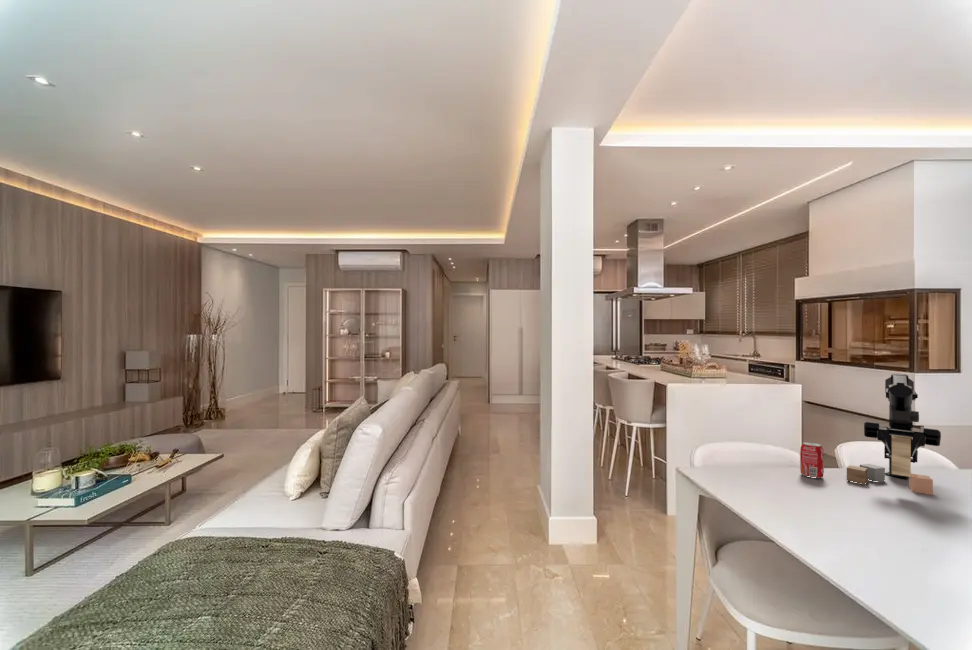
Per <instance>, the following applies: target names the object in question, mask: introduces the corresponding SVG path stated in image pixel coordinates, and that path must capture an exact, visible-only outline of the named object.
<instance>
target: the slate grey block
mask: <svg viewBox="0 0 972 650" xmlns="http://www.w3.org/2000/svg"><path fill="white" fill-rule="evenodd" d="M859 467H863V468H868V479H869V480H872V481H884V480H885V481H886V479H885V478H886V474H885V473H886V468H885V467H883V466H880V465H876V464H872V463H863V464H861V463H860V464H859Z"/></svg>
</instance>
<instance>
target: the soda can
mask: <svg viewBox="0 0 972 650" xmlns="http://www.w3.org/2000/svg"><path fill="white" fill-rule="evenodd" d="M824 451H825V450H824V448H823V445H822V444H821V443H818V442H812V441H811V442H810V441H803V442H802V445H800V451H799V452H800V453H799V456H800V457H799V459H800V460H799V463H800V464H799V469H800V470H799V471H800V474H801V475H802V476H804V475H805V476H810V477H816V478H819V479H821V478H823V477H824V473H825V472H824V471H825V452H824ZM805 476H804V477H805Z"/></svg>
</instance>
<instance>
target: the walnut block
mask: <svg viewBox="0 0 972 650" xmlns="http://www.w3.org/2000/svg"><path fill="white" fill-rule="evenodd" d="M847 480H848V481H853V482H857V483H862V484H865V483H866V482H867V481H868V468H863V467H860V466H855V465H851V464H850V465H848V466H847V467H846V481H847ZM868 482H869V481H868ZM868 482H867V483H868ZM857 483H856V484H857ZM867 483H866V484H867ZM866 484H865V485H866Z"/></svg>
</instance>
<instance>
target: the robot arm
mask: <svg viewBox="0 0 972 650" xmlns="http://www.w3.org/2000/svg"><path fill="white" fill-rule="evenodd" d="M884 381H885V382H884V389H885V390H884V393H885V399H887V400H888V402H889V405H888V409H889V410H888V412H889V413H888V415H889V416H888V417H889V418H888V421H889V422H888V426H885V425H880V423H879V422H874V421H865V422H864V423H863V433H864V435H863V436H864V437H866V438H871V439H872V438H873V439H877V440H878V441H881V442H882V444H884V449H883V450H884V453H883V454H884V459H888V471H887V472H885V475H886V474H889V475H888V476H890V475H893V476H892V477H894V476H897V477H896V478H898V477H901V478H900V479H902V478H905V479H904V480H908V479H907V478H909V477H907V476H901V475H895V474H892V471H891V470H892V435H896V436H904V437H910V439H911V463H913V464H915V463H918V453H919V452H918V449H919V448H920V447H924V446H926V445H927V446H933V447H934V446H935V447H938V446H939V447H940V445H941V441H942V440H941V438H942V433H941V432H942V431H940V430H939V429H936V428H928V427H926V428H925V427H923V429H922V431H914V430H913V428H914V425H913V424H914V423H919V422H920V413H919V411H915V410H912V404H913V401H914V402H915V401H916V399H918V397H919V396H918V395H919V394H918V393H917V392H916V390H915V383H914V382H915V381H913V379H910V378H909V375H908V374H904V373H892V374H890V377H888V378H886V379H885V380H884Z"/></svg>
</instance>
